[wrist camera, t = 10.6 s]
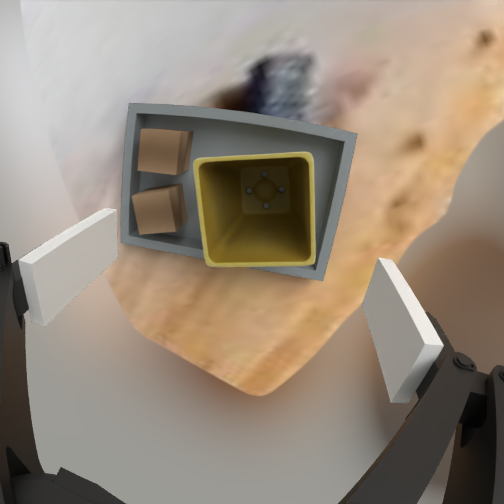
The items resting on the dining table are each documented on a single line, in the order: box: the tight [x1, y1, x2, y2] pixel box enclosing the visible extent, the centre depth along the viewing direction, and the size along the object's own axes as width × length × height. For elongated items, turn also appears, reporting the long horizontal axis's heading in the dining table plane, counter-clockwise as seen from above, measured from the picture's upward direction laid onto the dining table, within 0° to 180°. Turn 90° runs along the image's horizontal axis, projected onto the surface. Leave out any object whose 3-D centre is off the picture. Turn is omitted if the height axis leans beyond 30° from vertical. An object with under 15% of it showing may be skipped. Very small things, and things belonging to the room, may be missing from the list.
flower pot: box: [193, 152, 316, 267], centre depth 27 cm, size 9×9×9 cm
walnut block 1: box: [137, 128, 194, 175], centre depth 29 cm, size 4×4×4 cm
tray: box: [121, 103, 357, 281], centre depth 31 cm, size 15×22×3 cm
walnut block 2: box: [132, 183, 188, 235], centre depth 31 cm, size 4×4×4 cm
